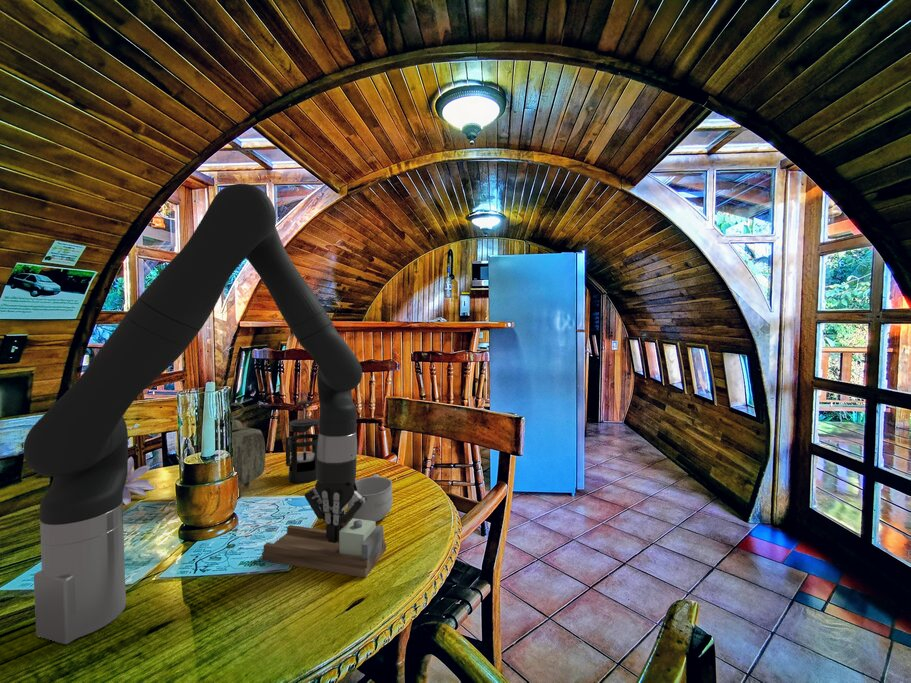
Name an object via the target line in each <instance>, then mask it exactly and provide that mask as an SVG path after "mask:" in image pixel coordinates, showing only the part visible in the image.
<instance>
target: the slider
mask: <svg viewBox="0 0 911 683" xmlns="http://www.w3.org/2000/svg"><path fill="white" fill-rule="evenodd" d="M376 523H377V522H376V521H369V520H362V519H354V518H351V519H350V521H348V522H347V523H346V524H344V525H343V528H342V529H341V530H340V531H339V552H340V554H343V555H350V556H356V557H362V543H363V542H364V541H365V540H366V539H367V537H368V536H369V535H370V534H371V533H372V532H373V530H374V529H375V528H376V527H377V526H376Z"/></svg>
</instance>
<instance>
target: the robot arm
mask: <svg viewBox="0 0 911 683" xmlns="http://www.w3.org/2000/svg"><path fill="white" fill-rule="evenodd" d="M276 214H277V213H276V208H275V207H274V205H273V202H272V200H271V198H270V197H269V196H268V194H266V193H265V192H264V191H263V190H262V189H260V188H259V187H257V186H255V185H253V184H248V183H235V184H234V183H233V184H230V185H227V186H226V187H225V186H224V187H223V188H222V189H221V190H219V191H218V192H217V194H215V196H214V198H213V199H212V201H211V202H210V204H209V206H208V208H207V210H206V212H205V214H204V215H203V217H202V218H201V220H200V221H199V223H198V225H197V227H196V229H195V230H194V231H193V234H191V236H190V238H189V239H188V241H187V242H186V243H185V245H184V246H183V247H182V248H181V250H180V251H179V252H178V253H177V254H176V255H175V256H174V257H173V258H172V259H171V261H170V262H168V264H167V265H165V267H164V268H163V269H162V270H161V271H160V273H158V275H156V277H155V278H154V279H153V280H152V281H151V283H150V284H148V286H147V287H146V288H145V289H144V291H143V292H142V293H141V294H140V296H138V298H136V301H135V302H134V303H133V305H132V306H131V307H130V309H129V310H128V311H127V312H126V314H125V315H124V316H123V317H122V319H121V321H120V322H119V324H118V325H117V326H116V328H115V329H114V330H113V331H112V333H111V334H110V335H109V337H108V338H107V339H106V340H105V342H104V343H103V345H102V346H101V348H100V349H99V350H98V351H97V353H96V355H95V356H94V358H92V360H91V361H90V363H89V365H88V366H87V367H86V369H85V370H84V372H83V373H82V374H81V375H80V376H79V378H78V379H77V380H76V381H75V382H74V384H72V385H71V386H70V388H69V389H67V391H65V393H64V394H63V395H62V396H61V397H60V398H59V399H58V400H57V401H56V402H55V403H54V404H53V405H52V406H51V407H50V408H49V409H48V410H47V411H46V412H45V413H44V414H43V415H42V416H41V417H40V418H39V419H38V420H37V421H36V423H35V424H34V425H33V426H32V427H31V428H30V429H29V431H28V433H27V434H26V438H25V439H24V442H23V443H24V444H23V456H24V460H25V462H26V464H27V465H28V467H29V468H30V469H32V471H34V472H35V473H37V474H39V475H42V476H45V477H53V479H52V482H51V484H50V486H49V488H48V490H47V492H46V493H45V495H44V496H43V498H42V499H41V501H40V504H39V528H40V531H39V532H40V533H39V534H40V556H41V570H39V571H37V572H36V573H35V574H34V575H33V586H34V587H33V588H34V589H33V590H34V593H33V594H34V613H35V637H36V636H40V637H42V638H41V639H43V638H46V639H45V640H47V639H49V640H48V641H50V640H52V641H51V642H54V641H55V643H59V644H63V645H68V644H70V643H72V642H73V641H75V640H76V639H79V638H81V637H84V636H86V635H90V634H92V633H94V632H96V631H99V630H100V629H102V628H104V627H105V626H107V625H108V624H110V623H111V622H113V621H114V620H116V619H117V618H118V617H119V616H120V615H121V614H122V613H123V611H124V610H125V608H126V604H127V600H126V599H127V597H126V596H127V594H126V565H125V563H126V560H125V540H124V539H125V535H124V534H125V533H124V532H125V531H124V503H123V489H124V486H125V483H126V479H127V472H128V459H129V433H128V426H127V423H126V420H125V418H124V415H125V413H126V412H127V411H128V410H129V408H130V406H131V405H132V404H133V402H135V400H136V399H137V398H138V397H139V396H140V395H141V394H142V393H143V391H145V390H146V389H147V388H148V387H149V386H150V385H151V384H153V383H154V381H156V380H157V379H158V378H159V377H160V376H162V374H164V372H165V371H167V370H168V369H169V367H171V366H172V365H173V364H174V363H175V362H176V361H177V360H178V359H179V358H180V357H181V356H182V354H183V353H184V352H185V351H186V350H187V349H188V347H189V346H190V344H192V342H193V340H194V339H195V338H196V337H197V335H198V334H199V332H201V330H202V328H203V327H204V326H205V324H206V322H207V321H208V319H209V318H210V315H211V314H212V312H213V311H214V309H215V308H216V306H217V303H218V302H219V299H220V298H221V296H222V294H223V291H224V289H225V287H226V285H227V283H228V282H229V280H230V278H231V276H232V275H233V274H234V272H235V271H236V270H237V269H238V267H239V266H240V265H241V264H242V262H244V260H245V259H246V260H247V261H248V262H249V264H250V265H251V267H252V268H253V269H254V271H255V272H256V273H257V275H258V276H259V278H260V279H261V281H262V282H263V284H264V286H265V287H266V290H267V291H268V293H269V294H270V296H271V298H272V300H273V302H274V304H275V305H276V307H277V309H278V311H279V312H280V314H281V316H282V318H283V319H284V321H285V323H286V324H287V326H288V327H289V329H290V331H291V333H292V334H293V336H294V337H295V338H296V340H297V343H299V345H300V346H301V347H302V348H303V349H304V350H305V351H306V352H307V353H308V354H309V356H311V357H312V359H313V361H314V363H315V364H316V365H317V372H316V373H317V374H316V380H317V381H316V383H317V394H318V401H319V416H318V417H319V427H318V435H319V437H318V443H317V469H316V478H317V480H316V482H315V484H314V487H312V488H311V489H309V490H308V491H307V492H305V493H304V498H305V499H306V501H307V503H308V504H309V507H311V510H312V511H313V512H314V514H315V516H316V518H317V519H318V520H323V521H324V522H325V525H326V529H325V530H326V537H327V539H328V542H332V543H336V542H337V541H338V540H339V531H340V530H341V529H342V528H343V527H344V525H346V524H347V523H348V522H349V520H350V521H351V520H352V519H353V518H352V517H353V516H354V515H355V514H356V512H357V511H358V510H359V509H360V508H361V507H362V505H363V504H364V503H365V502H366V501H367V497H366V496H361V495H360V494H359V493H358V492H357V486H356V483H355V481H356V477H357V461H358V460H357V458H358V457H357V454H358V437H357V417H358V414H357V406H356V405H355V402H354V401H353V396H352V395H353V394H352V393H353V392H352V391H353V390H355V389H356V388H357V387H358V386H359V385H360V383H361V381H362V378H363V368H362V365H361V363H360V361H359V358H358V357H357V356H356V354H355V352H354V351H353V350H352V349H351V347H350V346H349V345H348V343H347V342H346V341H345V340H344V338H343V337H342V336H341V334H339V332H338V330H336V327H335V325H334V323H333V321H332V319H331V318H330V316H329V315H328V312H327V311H326V308H324V306H323V305H322V303H321V301H320V300H319V298H318V297H317V295H316V293H314V291H313V289H312V288H311V287H310V286H309V284H308V283H307V281H306V280H305V279H304V278H303V276H302V275H301V273H300V271H298V269H297V268H296V266H295V264H294V263H293V261H292V260H291V257H290V255H289V254H288V252H287V250H286V249H285V246H284V244H283V242H282V240H281V236H280V234H279V232H278V230H277V226H276V223H277V222H276V221H277V217H276ZM352 497H353V500H352V507H351V509H350V510H349V511H348V510H347V512H346V509H348V505H347V503H348V502H349V501H350V500H351V498H352Z"/></svg>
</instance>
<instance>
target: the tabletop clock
mask: <svg viewBox="0 0 911 683" xmlns="http://www.w3.org/2000/svg"><path fill="white" fill-rule="evenodd" d="M232 406H238V407H241V408H242V410H241V412H240V413H237V415H235V414H234V413H230V414H231V422H232V448H233V467H234V471H235V472H237V475H238V486H239V487H240V486H242V485H243V486H244V487H245V488H247V487H249V486H250V482H251V481H254V480H255V479H257V478H259V477H261V476H262V475H263V474H264V472H265V471H264V470H265V467H266V444H265V438H264V435H263V432H262V430H261V429H257V428H254V427H253V428H252V427H248V426H243V425H244V424H243V423H242V421H240V420H238V419H237V418H239V417H241V416H242V415H243V414H244V412H245V407H244V405H243V404H242V403H239V402H231V406H230V407H232ZM242 496H243V492H241V491H239V498H238V499H240V498H242Z"/></svg>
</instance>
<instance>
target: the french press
mask: <svg viewBox="0 0 911 683" xmlns="http://www.w3.org/2000/svg"><path fill="white" fill-rule="evenodd" d="M296 404H297V405H299V406H300V405H301V406H302V409H303V418H299V419H294V420H291V421H289V422H288V423H287V425H288V426H289V431H290V432H292V433H297V434H298V435H297V434H296V435H293V436H292V435H290V436H286V437H285V466H286V467H288V477H287V481H288V482H289V483H292V484H298V485H299V484H308V483H312V482H315V481H316V482H317V478H316V469H317V443H318V437H319V434H316V433H306V432H308V431H309V430H311V428H312V427H317V428H319V419H318V418H312V417H311V418H306V409H307V405H310V404H312V401H310V400H302V401H298V402H296ZM299 433H301V434H299ZM302 433H303V434H302ZM306 439H311V440H310V441H306ZM298 440H303V441H300V442H299V441H298ZM297 441H298V442H297ZM306 447H311V451H306ZM298 448H303V452H298Z"/></svg>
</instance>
